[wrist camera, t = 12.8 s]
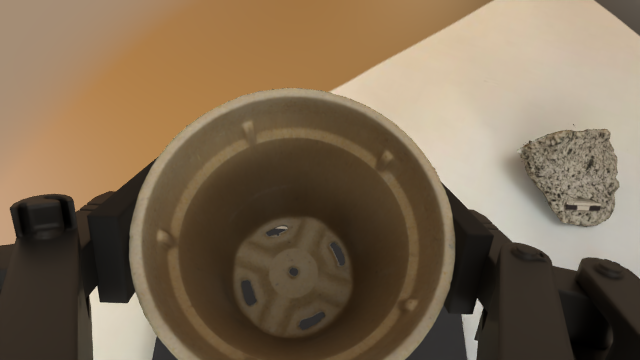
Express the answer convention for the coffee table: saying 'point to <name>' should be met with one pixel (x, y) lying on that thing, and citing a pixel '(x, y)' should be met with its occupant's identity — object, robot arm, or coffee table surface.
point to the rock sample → (575, 174)
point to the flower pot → (292, 233)
